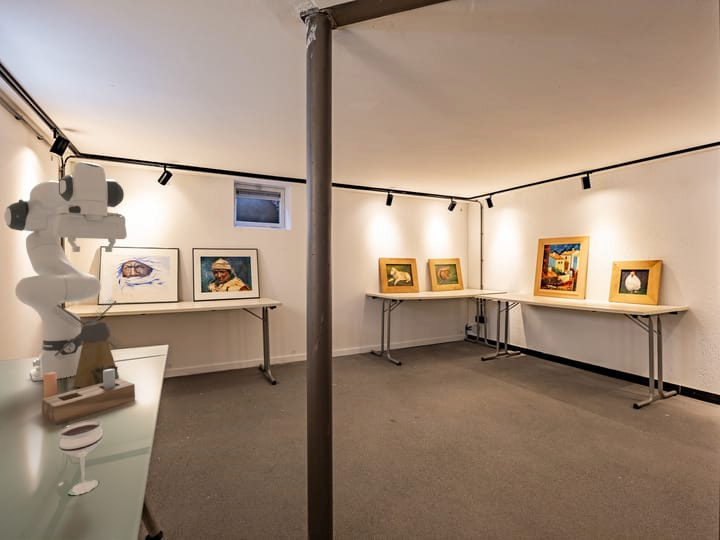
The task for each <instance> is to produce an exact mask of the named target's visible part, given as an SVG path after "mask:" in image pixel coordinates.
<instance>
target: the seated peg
mask: <svg viewBox="0 0 720 540" xmlns="http://www.w3.org/2000/svg"><path fill="white" fill-rule="evenodd" d="M103 385H104V390H105V389H109V388H112V387H115V369H107V370H104V371H103Z"/></svg>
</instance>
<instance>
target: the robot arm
mask: <svg viewBox="0 0 720 540" xmlns="http://www.w3.org/2000/svg"><path fill="white" fill-rule="evenodd" d="M105 173H106V172H105V168H104V167H103V166H101V165H99V164H98V163H91V162H85V161H77V162H75V163H74V167H73V171H72V172H71V173H69V174H65V175H64V176H63V177H61V178H60V179H58V181H57V180H45V181H43V182H39V183H38V184H36V185H35V186H34V187H32V189H31V191H30V193H29V199H28V200H23V199H19V200H18V201H16V202H14V203H11V204H9V206H7V207H6V209H5V211H4V214H3V215H4V217H3V218H4V221H5V223H6V225H7V227H8V228H9V229H11V230H14V231H19V232H20V231H21V232H23V231H26V232H31V233H30V234H28V235H27V237H26V239H25V247H26V252H27V255H28V258H29V261H30V263H31V264H30V265H31V266H32V269H33V271H34V272H35V273H36V274H37V275H34V276H29V277H24V278H21V279H20V280H19V281H18V283H17V284H16V287H15V291H14V293H15V295H16V296H15V297H17V299H18V300H19V301H20V302H21V303H22V304H25V305H27V306H28V307H30V308H32V309H33V310H34V311H35V312H36V313H37V314H38V315H39V317H40V319H41V321H42V327H43V337H44V339H43V341H42V345H41V346H42V351H41V352H40V354H39V356H38V357H37V358H36V360H35V359H34V360H32V367H34V368H33V369H30V371H29V373H30V377H31V379H32V381H33V382H37V381H44V378H43V375H44V374H46V373H50V372H56V375H57V380H59V379H60V378H61V379H65V378H66V377H67V378H70V376H71V377H75V376H76V372H77V368H78V363H79V358H80V354H81V349H82V344H83V342H82V341H80V336H79V337H78V338H77V339H76V340H75V341H77V340H78V341H77V342H75V341H74V342H72V343H71V344H70V346H71V345H72V346H71V347H70V346H68V347H66V349H64V350H63V351H62V352H61V353H59V354H58V355H59V356H58V355H57V356H55V354H56V353H57V352H59V351H60V350H61V349H62V348H63V347H64V346H66V345H67V344H68V343H69V342H70V341H72V340H73V339H74V338H75V337H76V336H78V335H79V334H80V333H81V330H82V324H81V323H80V322H79V323H78V321H77V320H76V319H74V318H73V317H71V316H70V315H69V314H67V313H66V312H65V311H63V310H62V309H60V308H59V307H58V306H57V305H60V306H61V307H63V306H62V304H64V303H72V302H81V301H86V300H90V299H91V300H92V299H94V298H97V296H98V295H99V294H100V292H101V289H102V284H101V282H100V279H99V278H98V277H97V276H96V275H94V274H91V273H88V272H84V271H83V270H81V269H79V268H78V267H76V266H75V265H74V264H72V263H71V262H70V260H69V259H68V257H67V254H66V253H65V250H64V249H63V246H62V245H61V243H60V241H59V238H67V243H69V245H70V246H71V248H72V252H73V253H80V252H81V246H77V244H76V239H97V240H99V239H101V240H103V239H104V240H108V243H109V244H108V245H107V246H105V247H104V249H105V250H104V251H105V253H112V252H113V247H114V246H115V243H116V241H117V240H125V239H126V238H127V237H128V235H127V227H126V217H125V216H124V215H122V214H121V213H119V212H117V213H115V212H114V213H113V212H109V211H108V208H116V207H117V206H119V205H120V204H121V203H122V202H123V200H124V195H125V191H124V188H123V187H122V185H120V184H119V182H117V181H116V180H115V179H108V178H106V174H105ZM54 307H55V308H54ZM53 308H54V309H53ZM56 308H57V309H56ZM55 309H56V311H57V312H56V311H54V310H55ZM51 310H52V311H51ZM59 310H60V311H59ZM67 311H68V312H70V313H71V314H72V315H74V316H75V317H77V318H78V319H79V320H81V317H80V316H79V315H78V314H77V313H75V312H72V311H69V310H67ZM55 312H56V314H55ZM57 313H58V314H57ZM59 313H60V315H59ZM63 313H64V314H63ZM58 315H59V316H58ZM62 315H63V316H62ZM66 315H67V316H66ZM60 316H61V317H63V319H62V318H61V317H60ZM66 318H67V320H66ZM70 318H71V319H70ZM65 320H66V321H65ZM68 320H70V321H71V322H70V321H68ZM73 320H74V322H73ZM67 321H68V322H70V323H68V322H67ZM76 321H77V322H76ZM81 321H82V320H81ZM72 322H73V323H72ZM75 322H76V323H75ZM71 323H72V324H71ZM74 323H75V324H74ZM77 323H78V324H77ZM72 325H73V326H72ZM76 325H77V326H76ZM80 325H81V326H80ZM75 327H76V328H75ZM79 341H80V342H81V343H80V342H79ZM74 343H75V344H76V345H75V344H74ZM73 346H75V347H76V346H77V347H76V348H75V347H73ZM72 347H73V348H72ZM69 348H70V349H71V350H70V349H69ZM64 351H66V352H67V353H66V352H64ZM69 351H70V353H69ZM63 352H64V353H63ZM65 353H66V355H65ZM68 353H69V354H68ZM61 354H62V355H63V356H62V355H61ZM57 357H58V358H60V359H58V358H57ZM61 357H62V358H63V359H62V358H61ZM61 359H62V360H61ZM35 367H36V368H35ZM74 375H75V376H74Z"/></svg>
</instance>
